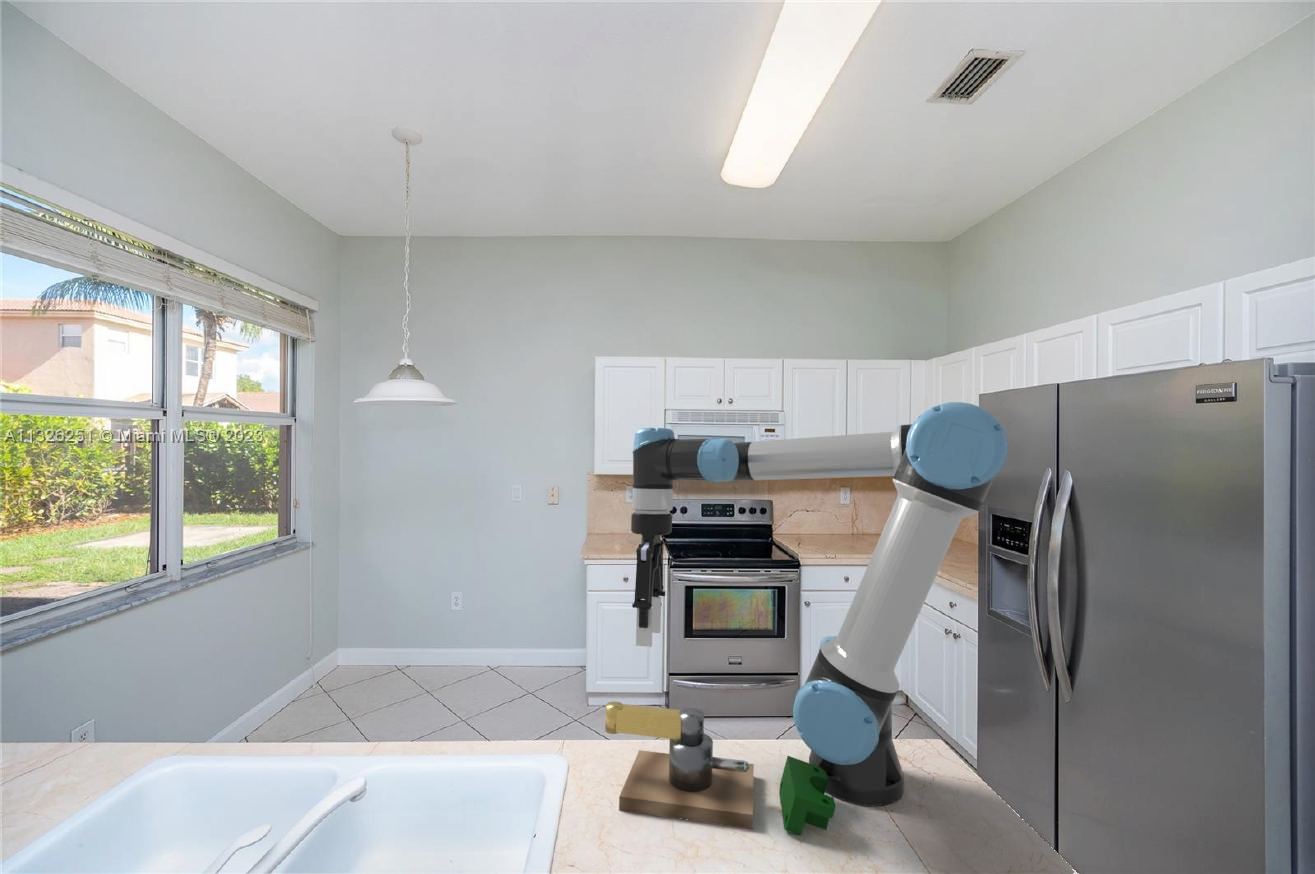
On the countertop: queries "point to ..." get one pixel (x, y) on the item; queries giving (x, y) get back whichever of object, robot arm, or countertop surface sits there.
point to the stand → (688, 794)
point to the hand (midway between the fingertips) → (648, 638)
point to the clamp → (804, 796)
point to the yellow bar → (656, 722)
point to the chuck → (697, 765)
